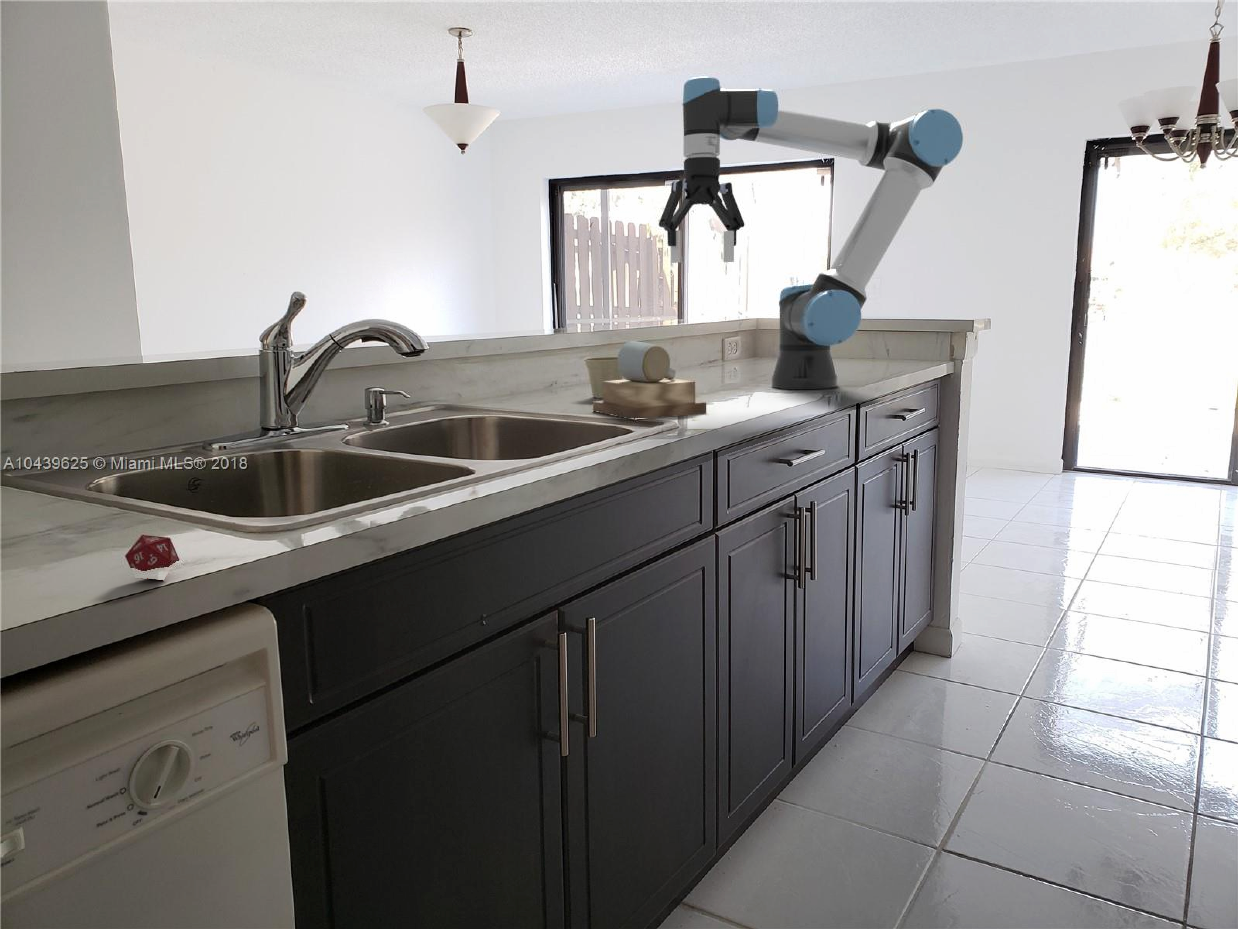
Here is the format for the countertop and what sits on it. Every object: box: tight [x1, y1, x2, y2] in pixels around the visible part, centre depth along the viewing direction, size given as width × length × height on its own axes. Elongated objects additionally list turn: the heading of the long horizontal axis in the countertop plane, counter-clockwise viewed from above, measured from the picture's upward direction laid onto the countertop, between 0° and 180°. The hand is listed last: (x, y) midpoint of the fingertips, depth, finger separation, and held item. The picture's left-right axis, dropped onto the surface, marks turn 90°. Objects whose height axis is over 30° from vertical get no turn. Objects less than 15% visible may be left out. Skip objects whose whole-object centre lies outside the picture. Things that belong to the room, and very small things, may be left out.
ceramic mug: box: [617, 340, 677, 383], centre depth 181 cm, size 11×8×8 cm
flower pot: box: [583, 356, 623, 399], centre depth 208 cm, size 9×9×9 cm
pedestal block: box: [602, 378, 696, 408], centre depth 182 cm, size 13×13×4 cm
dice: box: [124, 534, 180, 571], centre depth 82 cm, size 4×4×4 cm
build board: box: [592, 400, 707, 419], centre depth 182 cm, size 16×16×2 cm
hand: (702, 262), depth 199 cm, fingers open, 13 cm apart
